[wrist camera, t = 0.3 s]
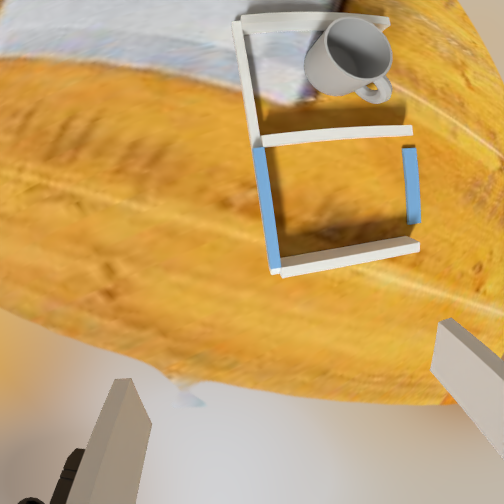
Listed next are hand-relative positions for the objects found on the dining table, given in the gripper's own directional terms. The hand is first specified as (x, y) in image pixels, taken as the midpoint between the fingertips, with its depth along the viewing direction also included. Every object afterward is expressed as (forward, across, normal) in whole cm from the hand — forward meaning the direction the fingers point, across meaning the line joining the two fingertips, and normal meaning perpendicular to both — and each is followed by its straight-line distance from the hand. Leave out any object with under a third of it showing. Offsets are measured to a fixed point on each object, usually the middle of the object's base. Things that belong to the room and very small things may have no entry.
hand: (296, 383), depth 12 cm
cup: (+27, +13, +18) cm, 35 cm away
